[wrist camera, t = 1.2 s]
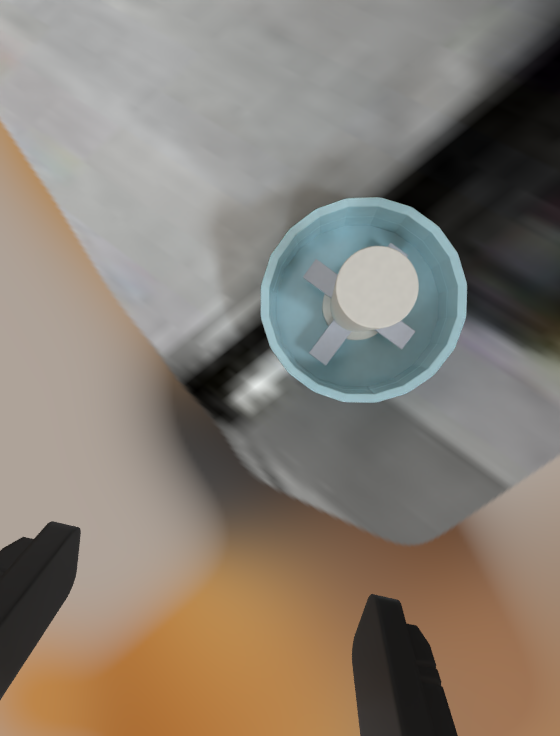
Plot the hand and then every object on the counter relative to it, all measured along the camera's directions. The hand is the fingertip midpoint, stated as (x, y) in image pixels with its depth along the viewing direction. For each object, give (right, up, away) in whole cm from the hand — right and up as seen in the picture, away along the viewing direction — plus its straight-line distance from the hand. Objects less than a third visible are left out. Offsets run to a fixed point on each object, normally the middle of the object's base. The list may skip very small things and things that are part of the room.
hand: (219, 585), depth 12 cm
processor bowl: (+8, +11, +23) cm, 27 cm away
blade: (+8, +11, +22) cm, 26 cm away
